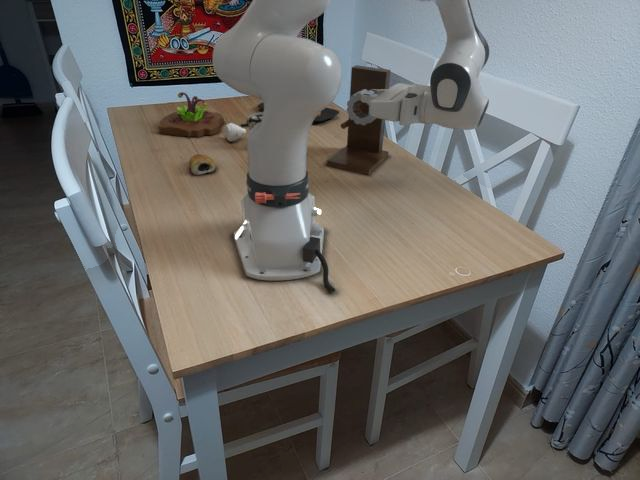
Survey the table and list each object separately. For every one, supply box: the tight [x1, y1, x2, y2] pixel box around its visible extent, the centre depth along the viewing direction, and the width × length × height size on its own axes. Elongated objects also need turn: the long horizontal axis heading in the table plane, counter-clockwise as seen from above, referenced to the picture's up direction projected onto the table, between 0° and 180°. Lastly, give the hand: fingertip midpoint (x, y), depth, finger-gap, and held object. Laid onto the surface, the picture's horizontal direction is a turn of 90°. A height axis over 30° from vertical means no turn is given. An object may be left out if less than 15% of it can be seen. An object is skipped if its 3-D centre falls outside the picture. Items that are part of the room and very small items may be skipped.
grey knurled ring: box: [346, 89, 378, 125], centre depth 117 cm, size 4×8×8 cm, turn 63°
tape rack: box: [326, 64, 391, 176], centre depth 121 cm, size 15×12×24 cm
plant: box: [158, 91, 225, 138], centre depth 145 cm, size 20×20×11 cm
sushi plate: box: [240, 102, 340, 127], centre depth 156 cm, size 29×30×4 cm
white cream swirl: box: [224, 122, 247, 143], centre depth 138 cm, size 6×6×5 cm
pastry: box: [188, 153, 217, 176], centre depth 120 cm, size 9×7×4 cm
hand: (366, 95), depth 115 cm, fingers closed on grey knurled ring, 4 cm apart
